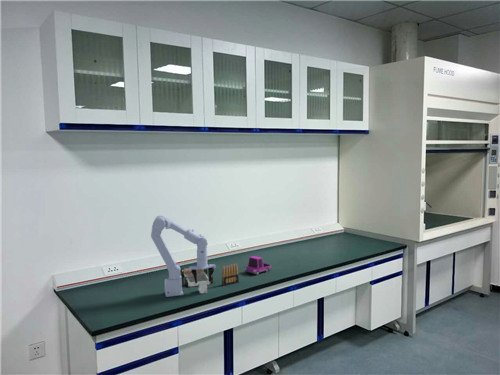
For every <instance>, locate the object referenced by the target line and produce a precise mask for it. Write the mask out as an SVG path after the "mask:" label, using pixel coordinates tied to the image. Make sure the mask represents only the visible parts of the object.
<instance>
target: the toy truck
mask: <svg viewBox="0 0 500 375" xmlns="http://www.w3.org/2000/svg"><path fill="white" fill-rule="evenodd" d="M269 270H272V265H271V264H268V263H265V262H264V258H263V257H261V256H256V255H252V256H249V258H248V264H247V266H245V267H244V272H246V273H250V274H253V275H256V276H259V275H260V273H262V272H267V273H268V271H269Z"/></svg>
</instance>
